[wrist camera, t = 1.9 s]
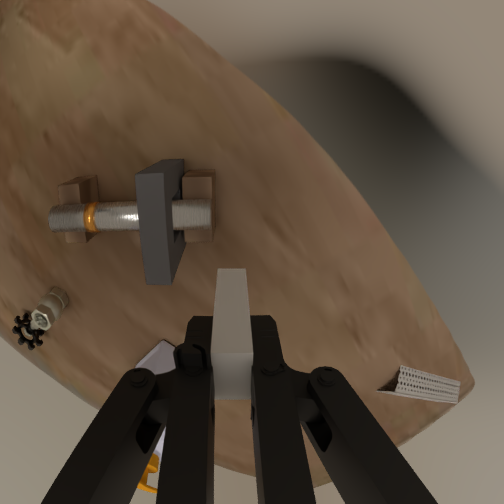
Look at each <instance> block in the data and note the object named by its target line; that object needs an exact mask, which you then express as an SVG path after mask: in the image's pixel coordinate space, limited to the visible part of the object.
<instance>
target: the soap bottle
mask: <svg viewBox="0 0 504 504" xmlns="http://www.w3.org/2000/svg"><path fill="white" fill-rule="evenodd" d="M174 349H175V347H173V346H172V345H170V344H169V343H167V342H166V341H164V340H162V341H161V342H160V343H159V344H158V345H157V346H156V347H154V348H153V349H152V350H151V351H150V352H149V353H148V354H147V355H146V356H145V357H144V358H143V359H142V360H141V361H140V362H139V363H138V364H137V365H136V367H135V368H139V367H140V368H147V369H149V370H151V371H152V372H153V373H154V374H155V375H156V374H161V373H166V372H169V371H171V370H173V369H175V368H176V367H175V362H174V357H173V351H174ZM165 429H166V427H165ZM165 429H164V431H163V433H162V435H161V437H160V439H159V442H158V444H157V446H156V448H155V450H154V452H153V454H152V456H151V458H150V461H149V463H148V465H147V467H146V469H145V471H144V473H143V475H142V478H141V480H140V482H139V484H138V486H137V488H139V489H141V490H145V491H148V492H152V493H157V489H156V488H153V487H151V486H148V485H146V483H147V477H148V473H156V472H157V471H158V464H159V462H161V457H162V450H163V443H164V436H165Z"/></svg>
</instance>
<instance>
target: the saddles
mask: <svg viewBox="0 0 504 504" xmlns="http://www.w3.org/2000/svg"><path fill="white" fill-rule="evenodd" d="M182 190H183V200H195V199H211V200H212V228H211V230H184V236H185V242H213V236H214V230H215V170H189V171H188V172H187V173H186V174H185V175H184V176H183V177H182ZM58 192H59V200H60V205H71V204H86V203H89V202H99V195H98V184H97V175H95V176H84V177H77V178H74V179H72V180H70V181H67V182H65V183H63V184H61V185H58ZM97 233H98V232H65V237H66V242H67V243H87V242H88V241H89V240H90V239H91V238H92V237H93V236H94V235H95V234H97Z"/></svg>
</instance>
